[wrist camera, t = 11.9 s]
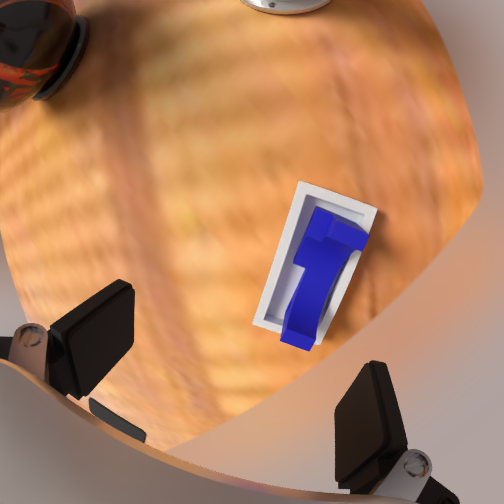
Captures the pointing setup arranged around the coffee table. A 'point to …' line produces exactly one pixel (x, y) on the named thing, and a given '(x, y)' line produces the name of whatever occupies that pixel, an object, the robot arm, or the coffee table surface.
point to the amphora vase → (38, 48)
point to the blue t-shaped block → (318, 272)
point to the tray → (289, 274)
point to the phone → (115, 420)
